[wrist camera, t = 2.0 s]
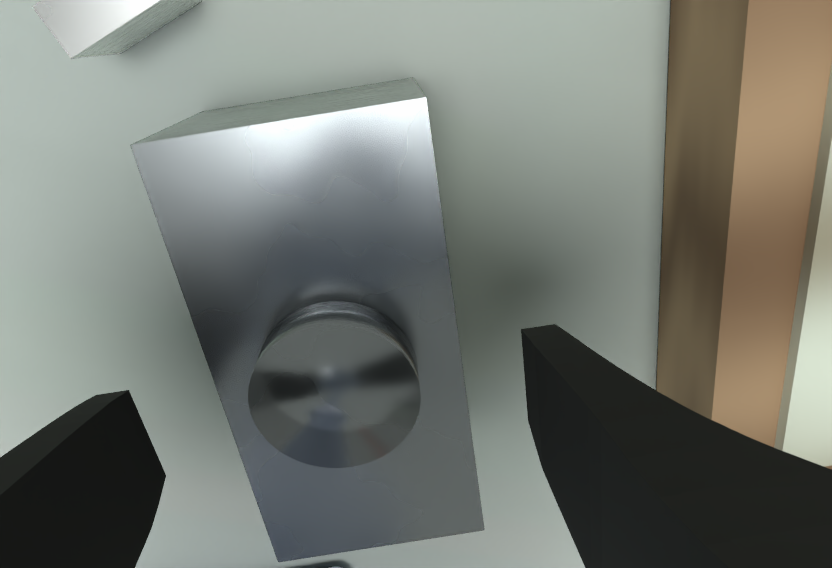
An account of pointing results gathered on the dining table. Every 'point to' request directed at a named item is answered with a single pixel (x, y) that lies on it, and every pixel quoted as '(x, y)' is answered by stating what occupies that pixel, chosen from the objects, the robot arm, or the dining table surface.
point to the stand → (750, 220)
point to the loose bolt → (106, 22)
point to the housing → (325, 310)
